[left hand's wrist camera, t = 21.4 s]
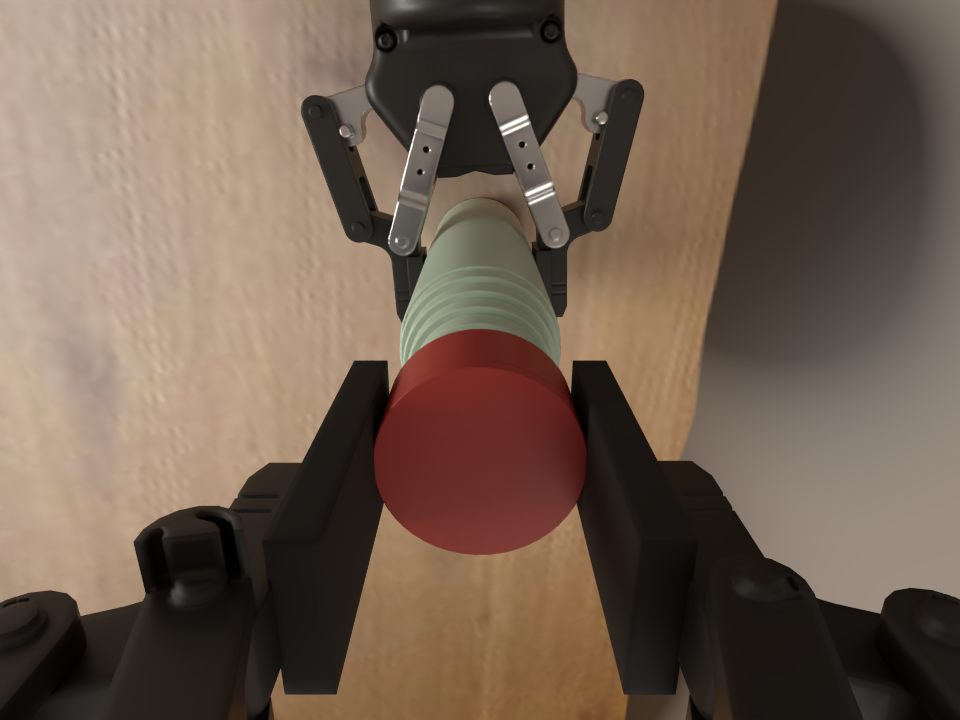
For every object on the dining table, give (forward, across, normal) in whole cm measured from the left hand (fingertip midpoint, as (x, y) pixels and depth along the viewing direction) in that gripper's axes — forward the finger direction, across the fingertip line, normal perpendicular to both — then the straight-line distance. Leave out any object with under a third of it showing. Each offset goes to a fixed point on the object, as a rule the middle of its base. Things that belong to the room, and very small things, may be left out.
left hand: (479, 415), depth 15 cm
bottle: (+21, 0, 0) cm, 21 cm away
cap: (-2, 0, 0) cm, 2 cm away
